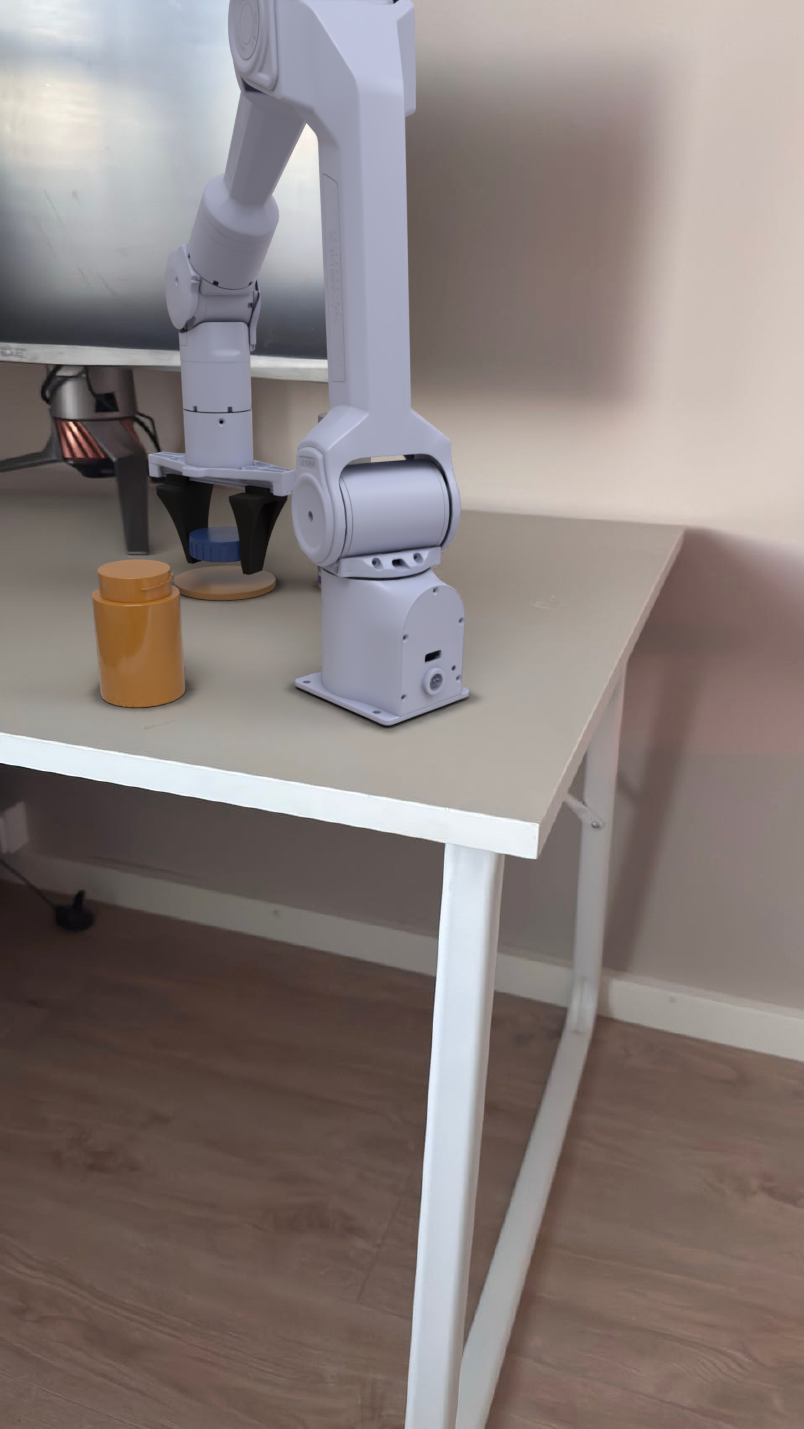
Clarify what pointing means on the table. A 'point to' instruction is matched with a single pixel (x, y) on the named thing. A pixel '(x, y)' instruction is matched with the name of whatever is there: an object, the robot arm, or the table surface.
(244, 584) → the coaster
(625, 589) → the table surface
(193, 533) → the lid
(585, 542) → the table surface
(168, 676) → the jar
